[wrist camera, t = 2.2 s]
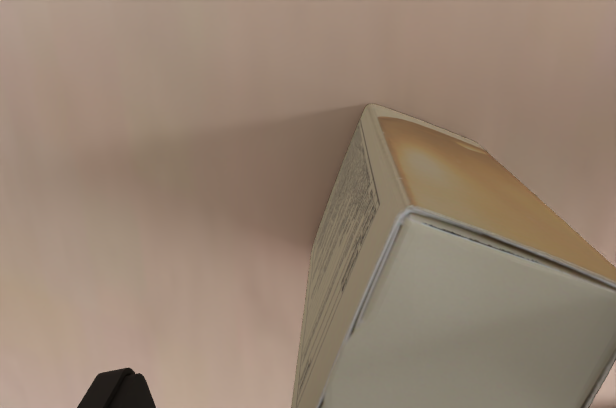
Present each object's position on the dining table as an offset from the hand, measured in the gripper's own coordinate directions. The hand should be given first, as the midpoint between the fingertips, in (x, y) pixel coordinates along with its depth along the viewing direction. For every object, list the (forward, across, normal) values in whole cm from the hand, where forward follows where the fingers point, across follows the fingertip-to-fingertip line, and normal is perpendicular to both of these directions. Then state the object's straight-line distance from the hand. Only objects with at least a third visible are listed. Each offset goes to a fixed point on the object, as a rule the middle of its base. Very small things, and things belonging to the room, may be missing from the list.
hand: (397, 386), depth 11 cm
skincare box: (+12, -1, 0) cm, 12 cm away
